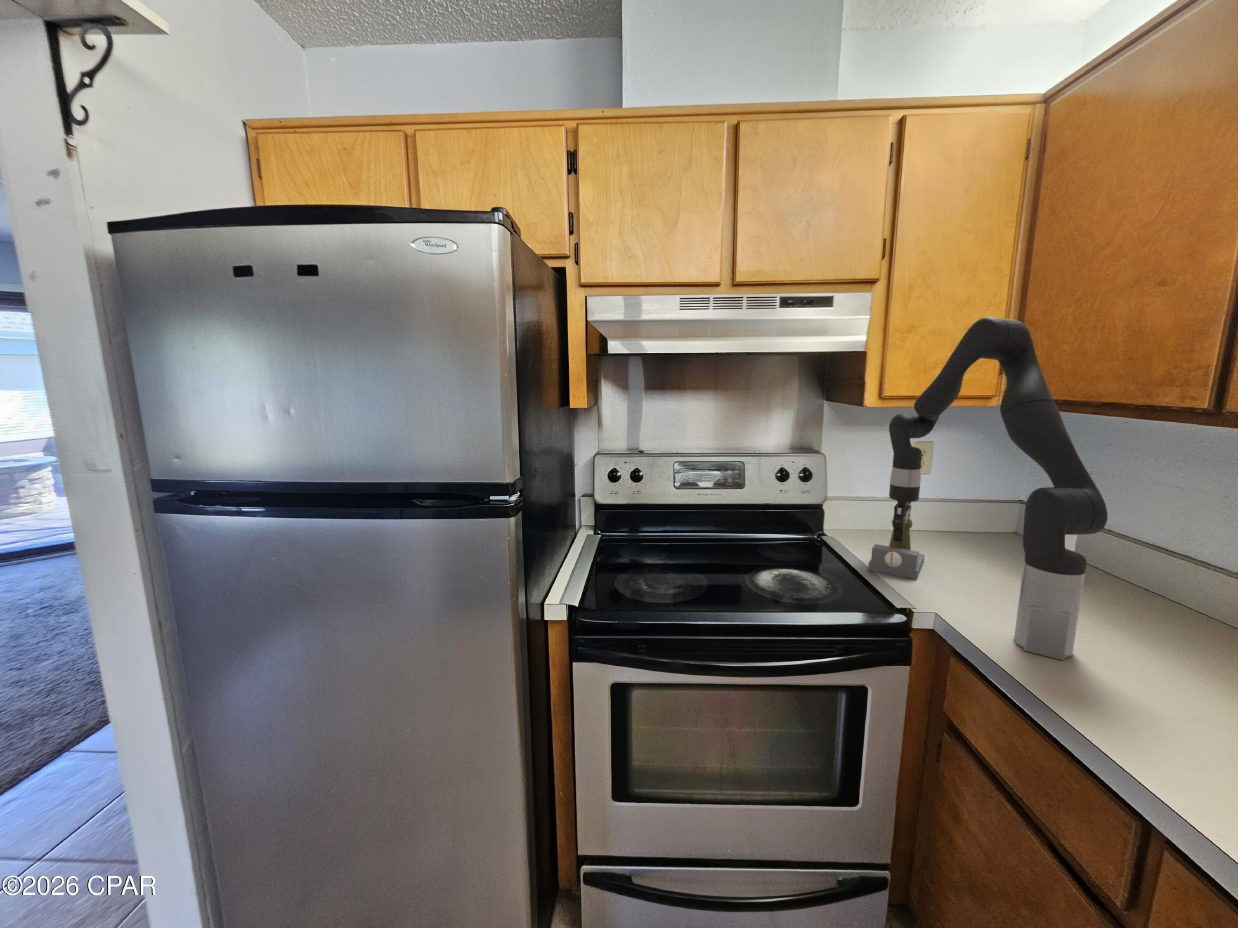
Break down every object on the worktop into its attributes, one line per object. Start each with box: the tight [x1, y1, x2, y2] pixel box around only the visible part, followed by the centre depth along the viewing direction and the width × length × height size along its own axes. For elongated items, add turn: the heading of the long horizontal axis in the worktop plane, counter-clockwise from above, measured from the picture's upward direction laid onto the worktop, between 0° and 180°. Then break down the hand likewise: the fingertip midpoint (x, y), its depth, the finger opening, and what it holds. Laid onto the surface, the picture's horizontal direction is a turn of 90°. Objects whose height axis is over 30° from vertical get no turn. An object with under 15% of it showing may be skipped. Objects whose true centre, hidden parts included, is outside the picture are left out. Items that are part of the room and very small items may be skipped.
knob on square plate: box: [868, 543, 925, 581], centre depth 145 cm, size 16×12×7 cm
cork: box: [888, 517, 913, 550], centre depth 146 cm, size 6×6×11 cm
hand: (900, 537), depth 146 cm, fingers open, 8 cm apart
